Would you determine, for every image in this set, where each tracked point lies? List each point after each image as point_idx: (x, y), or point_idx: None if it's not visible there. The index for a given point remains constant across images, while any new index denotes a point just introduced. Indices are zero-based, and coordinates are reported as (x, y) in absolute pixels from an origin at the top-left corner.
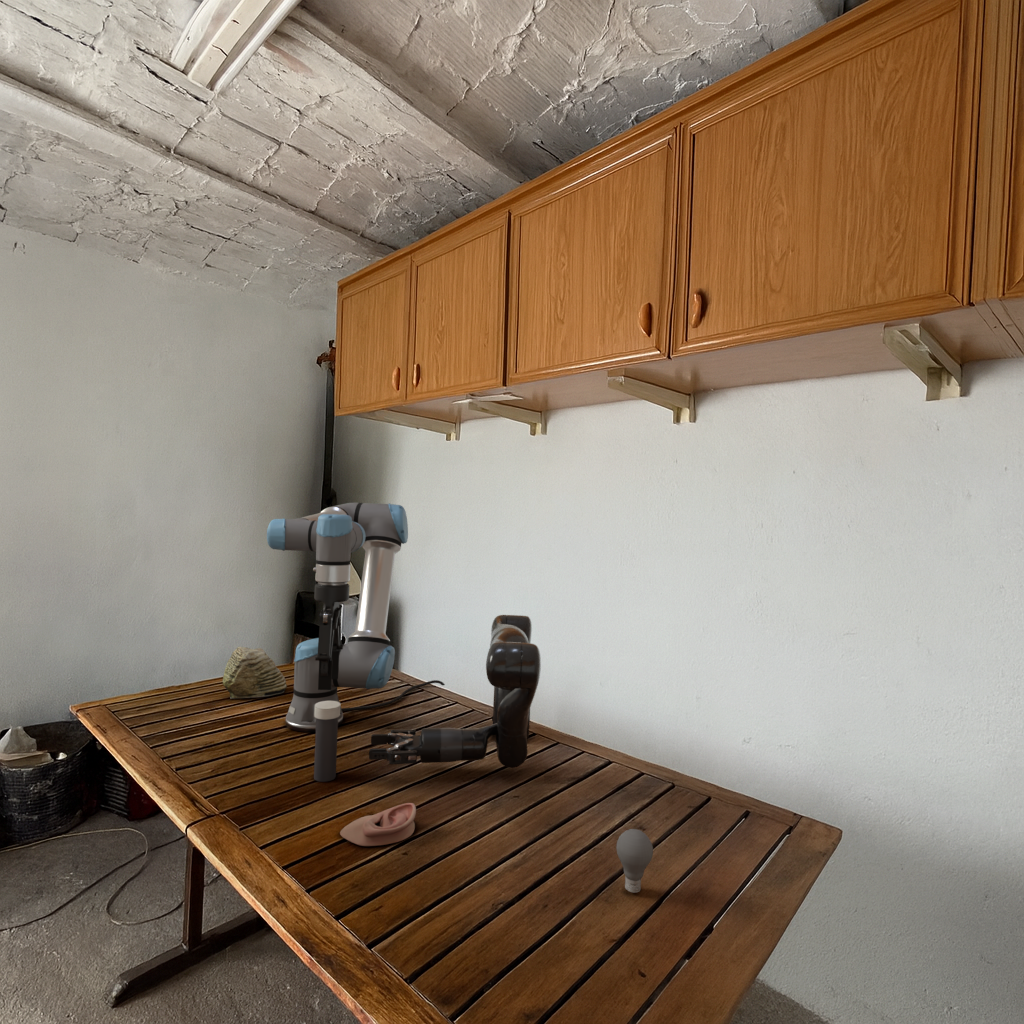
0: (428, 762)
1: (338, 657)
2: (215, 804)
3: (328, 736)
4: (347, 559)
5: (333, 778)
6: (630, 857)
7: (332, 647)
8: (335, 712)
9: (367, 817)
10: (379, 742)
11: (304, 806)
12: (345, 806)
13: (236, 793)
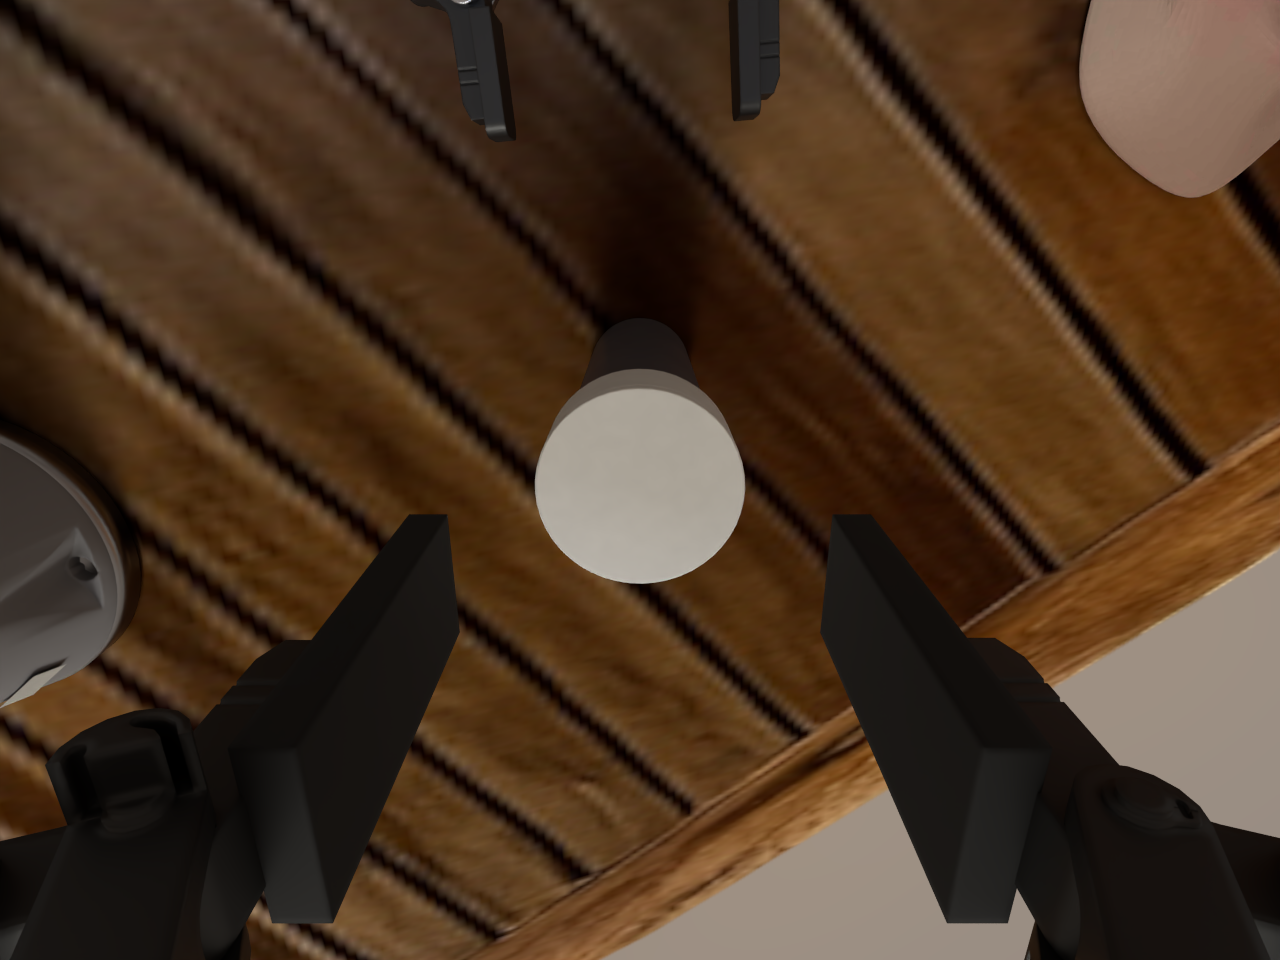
0: None
1: (347, 668)
2: None
3: None
4: None
5: (664, 324)
6: None
7: (229, 906)
8: (709, 403)
9: (1202, 68)
10: (507, 78)
11: (913, 395)
12: (938, 217)
13: (777, 657)
